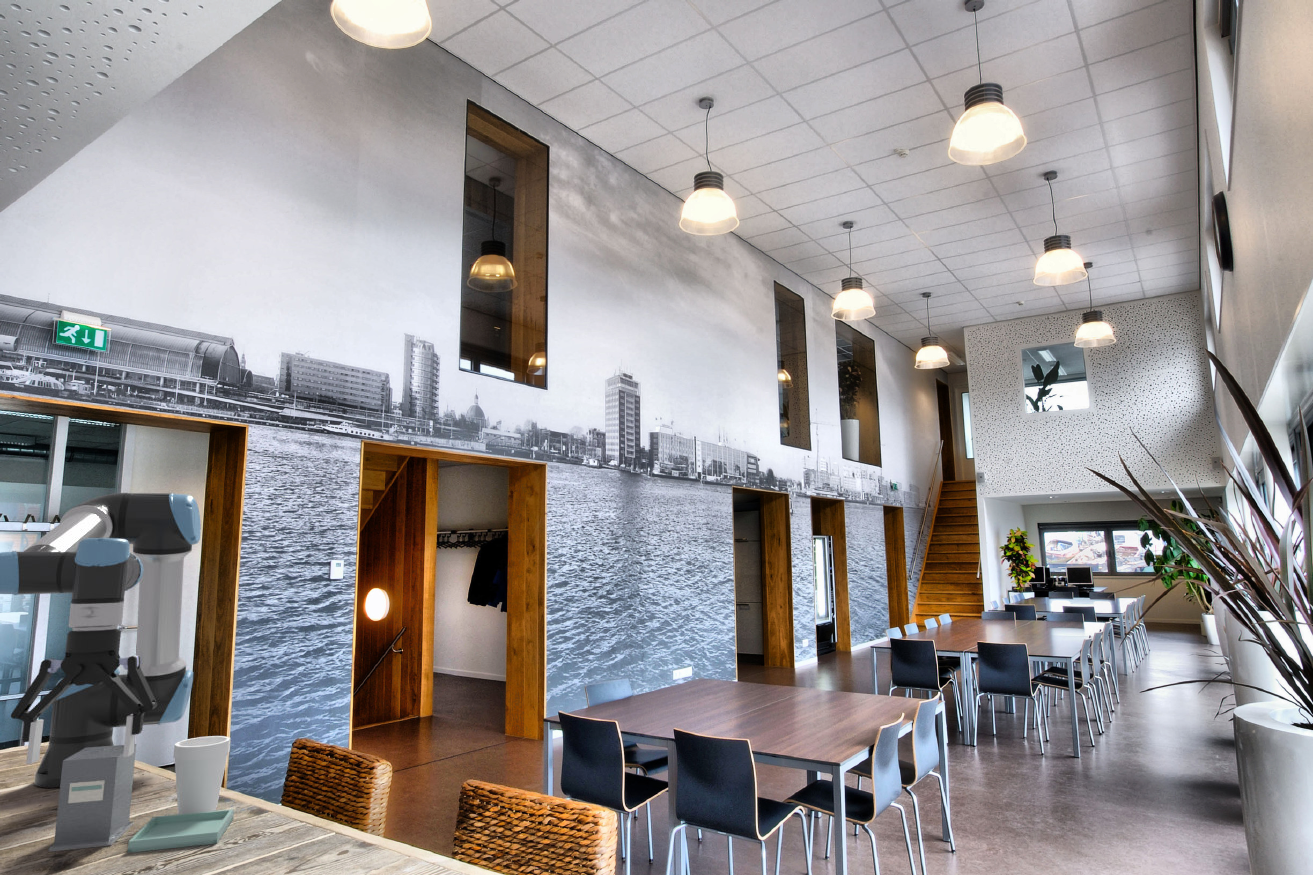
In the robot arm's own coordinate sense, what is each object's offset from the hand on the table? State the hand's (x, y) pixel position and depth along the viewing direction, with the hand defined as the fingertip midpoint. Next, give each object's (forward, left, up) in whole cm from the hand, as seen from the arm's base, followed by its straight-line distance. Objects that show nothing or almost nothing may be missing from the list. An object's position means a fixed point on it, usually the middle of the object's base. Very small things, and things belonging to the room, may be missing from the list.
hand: (81, 758), depth 129 cm
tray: (-5, +15, -15) cm, 22 cm away
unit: (-9, 0, -15) cm, 18 cm away
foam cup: (-19, +14, -16) cm, 28 cm away
